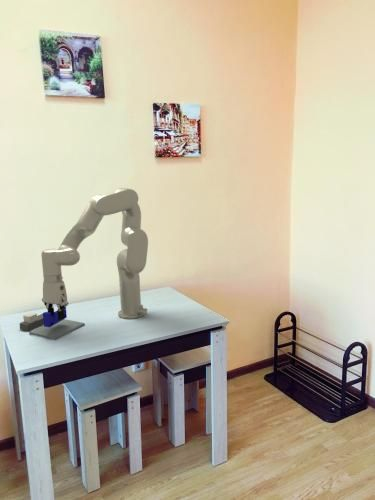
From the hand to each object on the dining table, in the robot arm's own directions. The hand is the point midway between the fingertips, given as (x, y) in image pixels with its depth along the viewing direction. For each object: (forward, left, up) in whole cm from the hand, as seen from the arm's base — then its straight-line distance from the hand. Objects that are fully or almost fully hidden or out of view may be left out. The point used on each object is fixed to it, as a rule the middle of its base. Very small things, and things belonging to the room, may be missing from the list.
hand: (56, 317), depth 182 cm
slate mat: (0, 0, -6) cm, 6 cm away
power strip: (+13, -1, -6) cm, 14 cm away
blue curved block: (0, +2, -2) cm, 2 cm away
